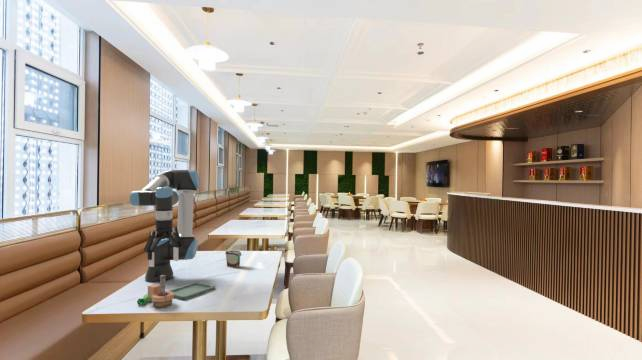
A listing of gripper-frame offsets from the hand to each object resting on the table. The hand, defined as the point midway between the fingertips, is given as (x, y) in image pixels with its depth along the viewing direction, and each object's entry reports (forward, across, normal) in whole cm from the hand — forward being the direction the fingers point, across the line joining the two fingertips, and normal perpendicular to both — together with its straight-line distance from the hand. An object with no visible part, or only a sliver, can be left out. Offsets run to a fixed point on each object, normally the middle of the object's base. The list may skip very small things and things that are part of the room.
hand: (164, 263), depth 171 cm
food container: (+18, +66, +14) cm, 70 cm away
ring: (+15, -4, -2) cm, 16 cm away
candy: (+18, -4, +7) cm, 20 cm away
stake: (+18, -4, -4) cm, 19 cm away
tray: (+18, +15, -1) cm, 23 cm away
